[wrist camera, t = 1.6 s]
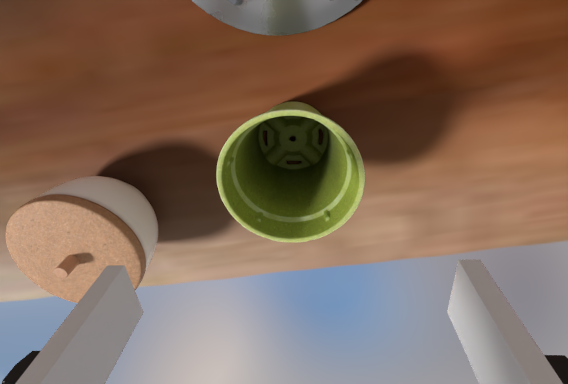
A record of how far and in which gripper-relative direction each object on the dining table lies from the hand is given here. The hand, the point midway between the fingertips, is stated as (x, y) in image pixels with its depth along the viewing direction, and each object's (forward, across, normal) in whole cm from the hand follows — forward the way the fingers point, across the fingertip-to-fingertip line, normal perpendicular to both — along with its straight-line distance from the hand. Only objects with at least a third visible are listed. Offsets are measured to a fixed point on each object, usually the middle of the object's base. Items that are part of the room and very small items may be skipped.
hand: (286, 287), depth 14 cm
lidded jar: (+18, -18, -6) cm, 26 cm away
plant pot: (+18, 0, 0) cm, 18 cm away
